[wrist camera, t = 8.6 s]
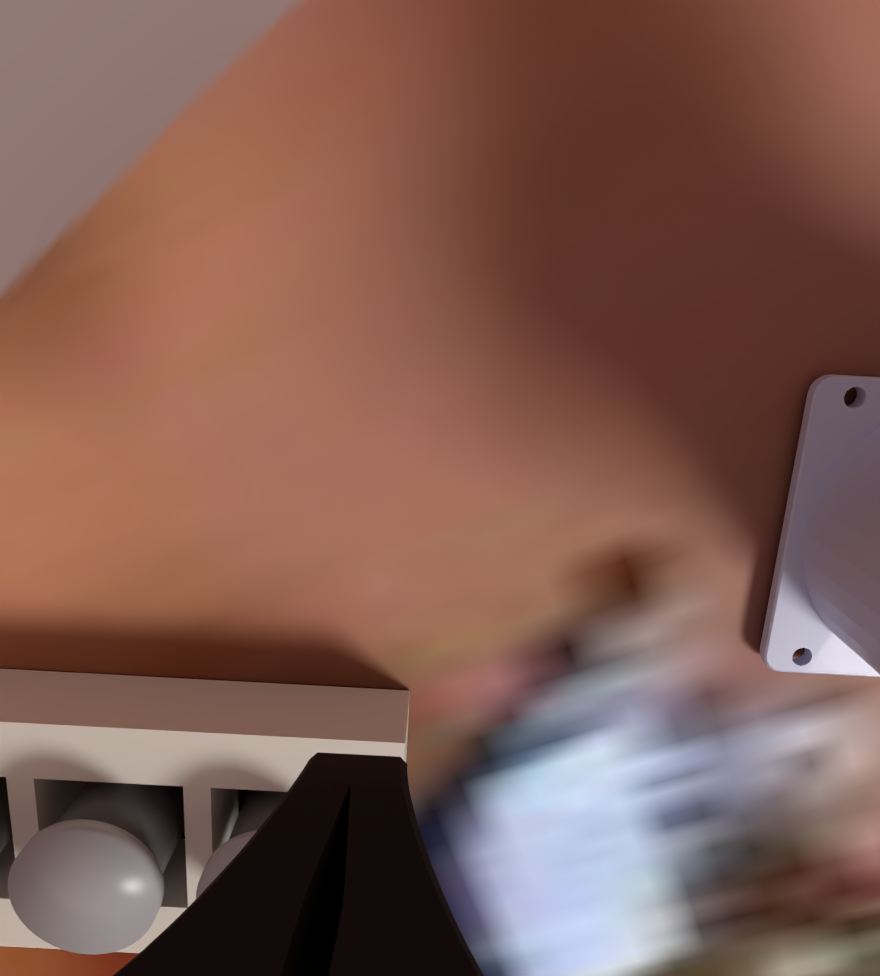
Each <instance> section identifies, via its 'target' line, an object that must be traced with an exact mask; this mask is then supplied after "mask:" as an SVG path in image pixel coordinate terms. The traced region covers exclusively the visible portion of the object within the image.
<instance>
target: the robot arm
mask: <svg viewBox="0 0 880 976" xmlns="http://www.w3.org/2000/svg"><path fill="white" fill-rule="evenodd" d="M852 387H855V389H856V390H857V397H856V399H855V401H854V402H853V403H852V404H850V405H846V404H845V403H844V396H845V394H846V392H847V391H848V390H849V389H850V388H852ZM800 648H805V652H804V654H803V655H802V656H800V657H799V658H795V659H793V658H792V656H793V654H794V652H795V651H796V650H798V649H800ZM760 656H761V658H762V660H763V661H764V662H765V664H766V665H767V666H768V667H769V668H771V669H772V670H775V671H779V672H796V673H814V674H833V675H851V676H870V677H880V377H871V376H853V375H836V374H829V375H823V376H821V377H819V378H818V379H816V380H815V381H814V382H813V383H812V384H811V386H810V388H809V391H808V393H807V398H806V404H805V409H804V414H803V420H802V425H801V431H800V436H799V441H798V447H797V452H796V457H795V463H794V468H793V473H792V479H791V484H790V490H789V495H788V500H787V506H786V511H785V516H784V522H783V527H782V532H781V538H780V543H779V549H778V554H777V559H776V565H775V570H774V575H773V581H772V586H771V591H770V597H769V602H768V607H767V613H766V618H765V624H764V629H763V634H762V640H761V645H760ZM113 976H483V974H482V972H481V970H480V968H479V966H478V964H477V963H476V961H475V959H474V957H473V955H472V953H471V951H470V950H469V948H468V946H467V944H466V942H465V940H464V938H463V936H462V934H461V932H460V930H459V928H458V926H457V923H456V921H455V919H454V917H453V915H452V913H451V911H450V908H449V906H448V904H447V901H446V899H445V897H444V895H443V892H442V890H441V888H440V885H439V883H438V880H437V878H436V875H435V873H434V870H433V868H432V865H431V862H430V859H429V856H428V853H427V851H426V848H425V845H424V842H423V839H422V836H421V833H420V830H419V827H418V824H417V820H416V816H415V813H414V809H413V805H412V801H411V796H410V791H409V785H408V777H407V764H406V762H405V761H404V760H403V759H402V758H401V757H396V756H377V755H358V754H339V753H320V752H318V753H316V754H315V755H314V756H313V757H311V758H310V759H309V761H308V762H307V764H306V766H305V767H304V769H303V770H302V772H301V773H300V775H299V776H298V778H297V779H296V781H295V782H294V783H293V785H292V786H291V788H290V789H289V790H288V792H287V793H286V794H285V796H284V797H283V798H282V800H281V801H280V802H279V804H278V805H277V806H276V808H275V809H274V810H273V812H272V813H271V814H270V815H269V817H268V818H267V819H266V820H265V822H264V823H263V824H262V825H261V827H260V828H259V829H258V830H257V831H256V833H255V834H254V835H253V836H252V838H251V839H250V840H249V841H248V842H247V844H246V845H245V846H244V847H243V848H242V850H241V851H240V852H239V853H238V854H237V855H236V857H235V858H234V859H233V860H232V861H231V862H230V863H229V864H228V865H227V866H226V867H225V869H224V870H223V871H222V872H221V873H220V874H219V875H218V876H217V877H216V878H215V879H214V881H213V882H212V883H211V884H210V885H209V886H208V887H207V888H206V889H205V890H204V891H203V893H202V894H201V895H200V896H199V897H198V898H197V899H196V900H195V901H194V902H193V903H192V904H191V905H190V906H189V907H188V908H187V909H186V910H185V911H184V912H183V913H182V914H181V915H180V916H179V917H178V918H177V919H176V920H175V921H174V922H173V923H172V924H171V925H170V926H169V927H167V928H166V929H165V930H164V931H163V932H162V933H161V934H160V935H159V936H158V937H157V938H156V939H154V940H153V941H152V942H151V943H150V944H149V945H148V946H147V947H146V948H145V949H144V950H143V951H141V952H140V953H139V954H138V955H137V956H136V957H135V958H133V959H132V960H131V961H130V962H129V963H128V964H126V965H125V966H124V967H123V968H122V969H120V970H119V971H118V972H117V973H116V974H115V975H113Z"/></svg>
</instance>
